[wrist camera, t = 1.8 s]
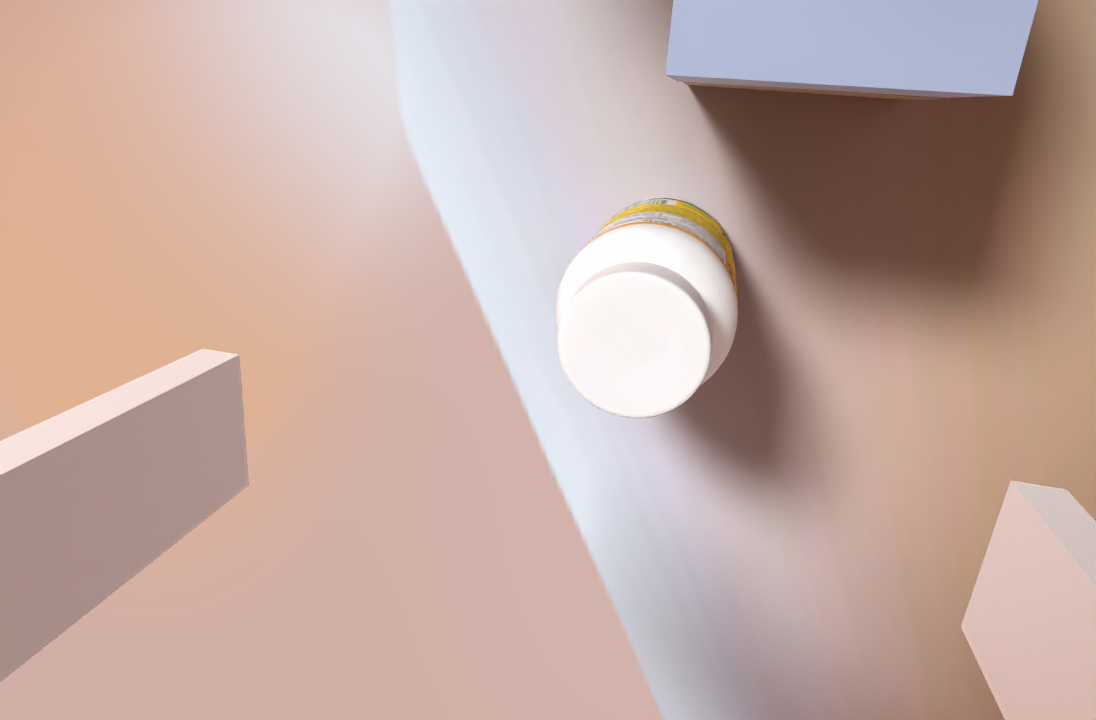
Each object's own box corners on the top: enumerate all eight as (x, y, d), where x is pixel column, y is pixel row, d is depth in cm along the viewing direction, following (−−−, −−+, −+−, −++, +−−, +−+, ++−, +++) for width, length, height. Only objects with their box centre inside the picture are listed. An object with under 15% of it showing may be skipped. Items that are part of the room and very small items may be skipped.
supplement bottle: (642, 166, 26) (601, 199, 17) (765, 247, 26) (787, 321, 17) (567, 286, 28) (495, 369, 19) (680, 361, 28) (661, 478, 19)
